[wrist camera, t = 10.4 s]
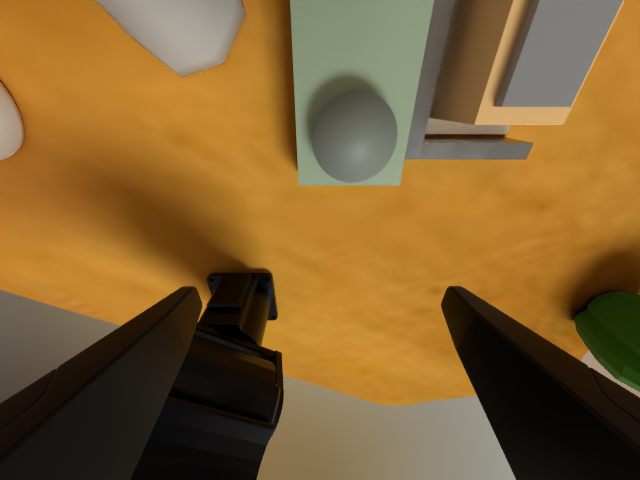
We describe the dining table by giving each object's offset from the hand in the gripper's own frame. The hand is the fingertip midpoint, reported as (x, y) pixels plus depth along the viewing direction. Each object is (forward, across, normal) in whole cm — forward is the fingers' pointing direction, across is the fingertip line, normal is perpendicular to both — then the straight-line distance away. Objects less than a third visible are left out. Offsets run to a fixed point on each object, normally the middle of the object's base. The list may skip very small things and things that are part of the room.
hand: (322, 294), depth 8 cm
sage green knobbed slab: (+12, -2, -8) cm, 15 cm away
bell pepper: (+12, -32, +14) cm, 37 cm away
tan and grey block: (+12, -10, -8) cm, 17 cm away
